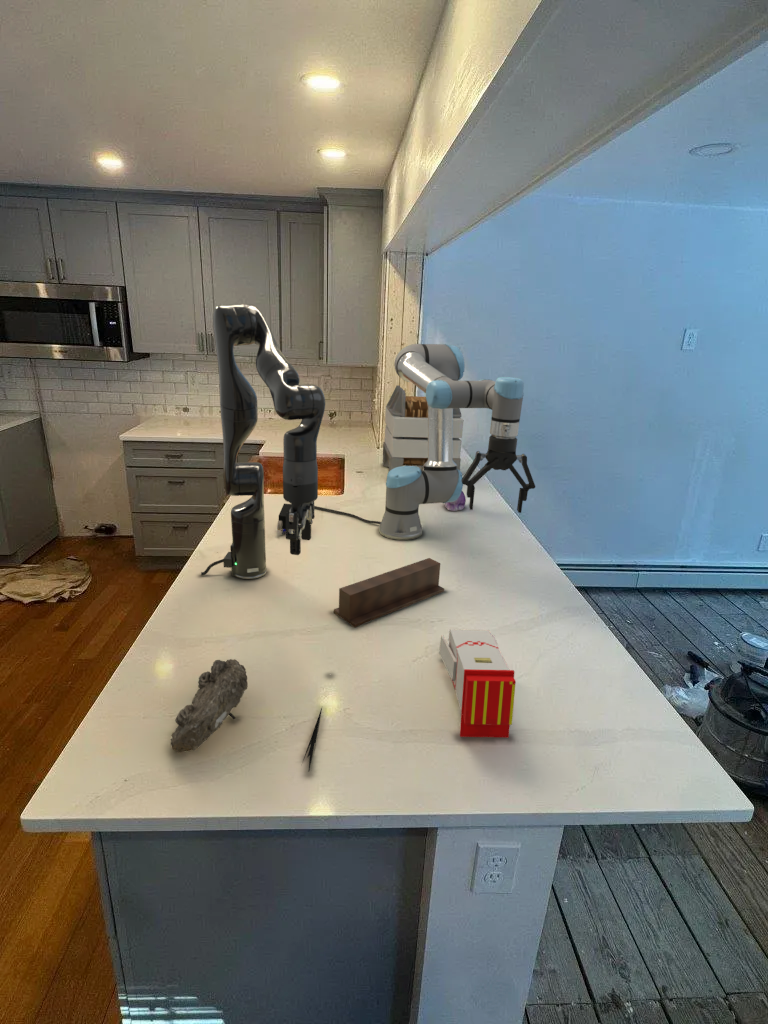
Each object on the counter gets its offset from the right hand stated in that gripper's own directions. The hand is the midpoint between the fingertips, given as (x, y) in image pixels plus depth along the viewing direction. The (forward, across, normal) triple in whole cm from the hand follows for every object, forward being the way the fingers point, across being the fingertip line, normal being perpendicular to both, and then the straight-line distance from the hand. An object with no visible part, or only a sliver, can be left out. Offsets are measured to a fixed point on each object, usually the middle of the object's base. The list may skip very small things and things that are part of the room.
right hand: (494, 509), depth 161 cm
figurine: (+22, -6, +64) cm, 68 cm away
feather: (+22, -39, -66) cm, 79 cm away
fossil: (+22, -59, -67) cm, 92 cm away
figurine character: (+22, -66, +29) cm, 75 cm away
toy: (+22, -9, -54) cm, 59 cm away
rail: (+22, -28, -17) cm, 39 cm away
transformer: (+22, -21, +112) cm, 116 cm away
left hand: (-1, -48, -36) cm, 60 cm away
